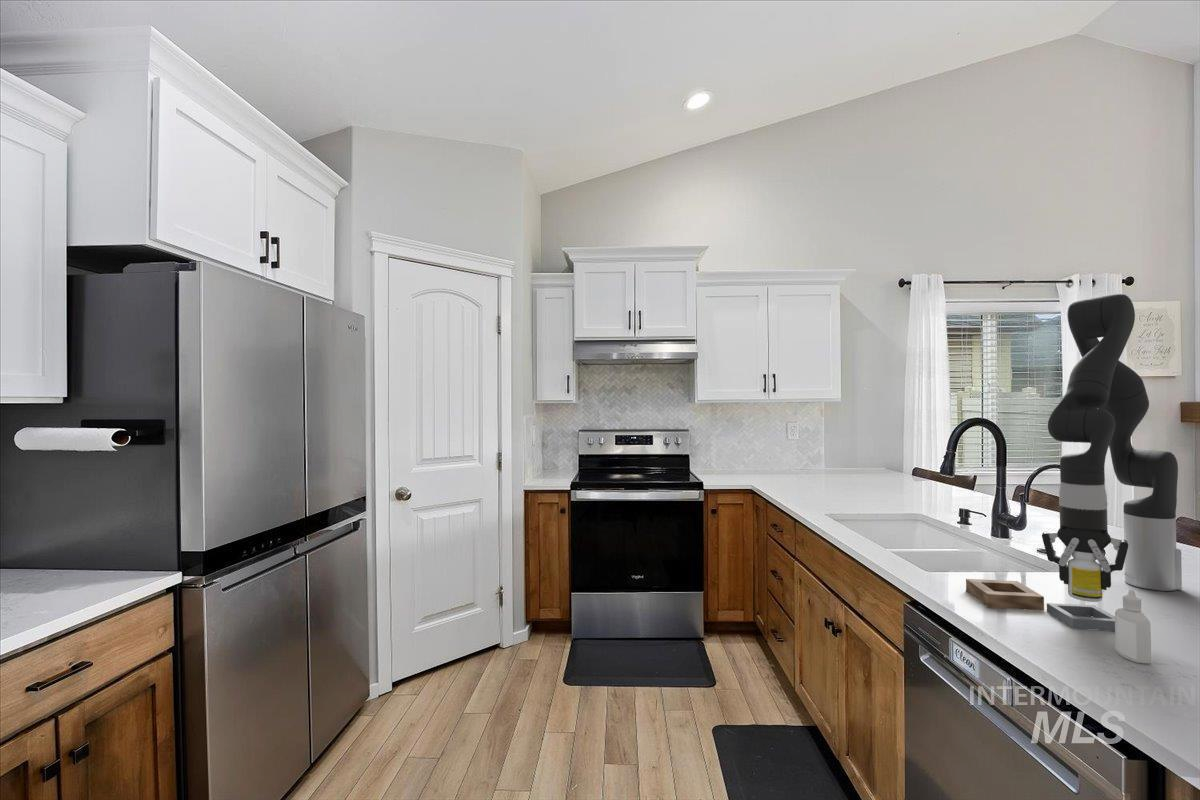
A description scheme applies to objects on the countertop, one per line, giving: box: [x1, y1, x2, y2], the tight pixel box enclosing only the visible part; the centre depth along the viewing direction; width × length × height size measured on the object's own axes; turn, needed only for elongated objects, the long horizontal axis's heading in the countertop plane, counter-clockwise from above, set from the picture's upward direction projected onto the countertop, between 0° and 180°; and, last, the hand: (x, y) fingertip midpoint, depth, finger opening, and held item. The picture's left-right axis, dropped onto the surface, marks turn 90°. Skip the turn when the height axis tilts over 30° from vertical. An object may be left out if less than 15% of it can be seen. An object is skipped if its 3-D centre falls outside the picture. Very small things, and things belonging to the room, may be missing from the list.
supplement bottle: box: [1067, 551, 1103, 603], centre depth 117 cm, size 5×5×10 cm
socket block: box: [965, 578, 1045, 612], centre depth 130 cm, size 11×11×3 cm
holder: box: [1046, 602, 1115, 632], centre depth 117 cm, size 9×9×2 cm
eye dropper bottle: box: [1114, 589, 1152, 665], centre depth 101 cm, size 4×6×12 cm
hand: (1084, 585), depth 117 cm, fingers closed on supplement bottle, 5 cm apart
